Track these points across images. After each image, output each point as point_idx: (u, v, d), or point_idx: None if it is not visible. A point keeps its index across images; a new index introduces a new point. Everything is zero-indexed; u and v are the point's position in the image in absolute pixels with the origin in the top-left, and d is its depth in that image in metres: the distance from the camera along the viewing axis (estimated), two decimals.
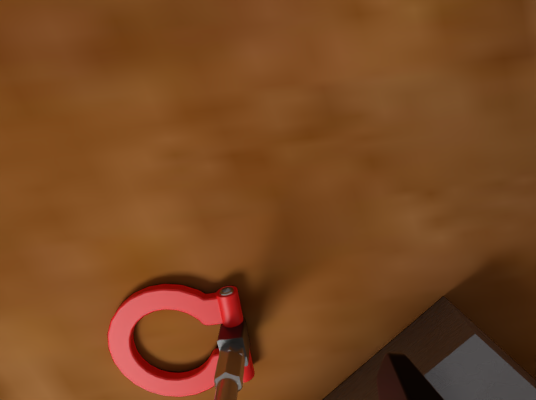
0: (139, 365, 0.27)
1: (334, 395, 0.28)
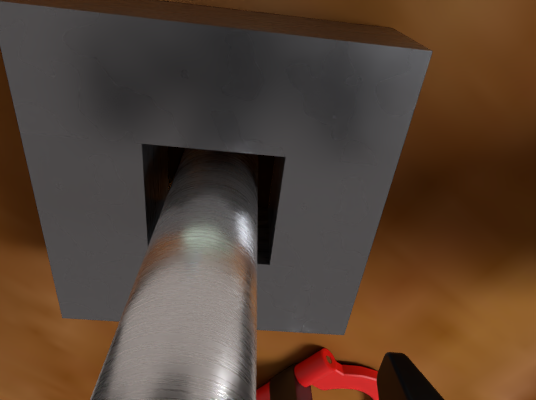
0: None
1: None
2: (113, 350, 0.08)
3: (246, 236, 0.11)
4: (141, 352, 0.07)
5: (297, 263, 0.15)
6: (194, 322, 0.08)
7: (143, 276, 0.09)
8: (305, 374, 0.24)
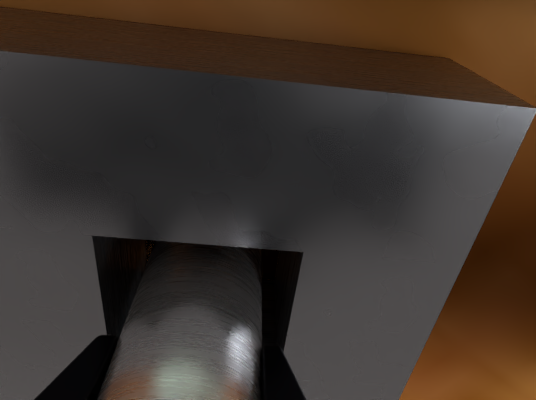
0: None
1: None
2: None
3: None
4: None
5: (315, 376, 0.11)
6: None
7: None
8: None
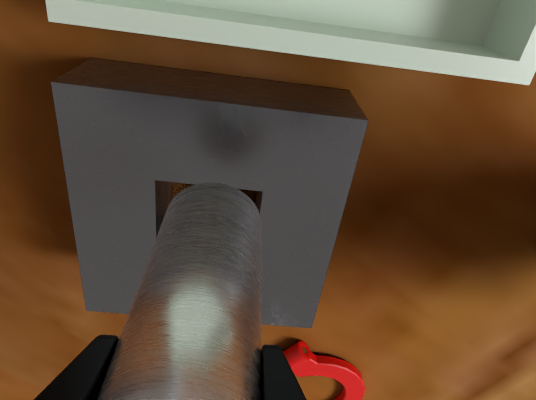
0: None
1: None
2: None
3: None
4: None
5: (273, 270, 0.20)
6: None
7: None
8: None
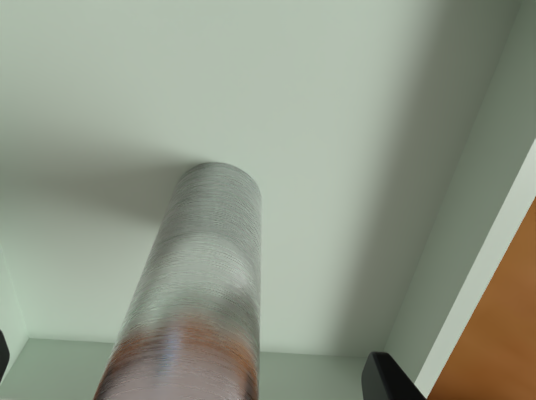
0: None
1: None
2: None
3: (245, 337, 0.08)
4: None
5: None
6: None
7: None
8: None
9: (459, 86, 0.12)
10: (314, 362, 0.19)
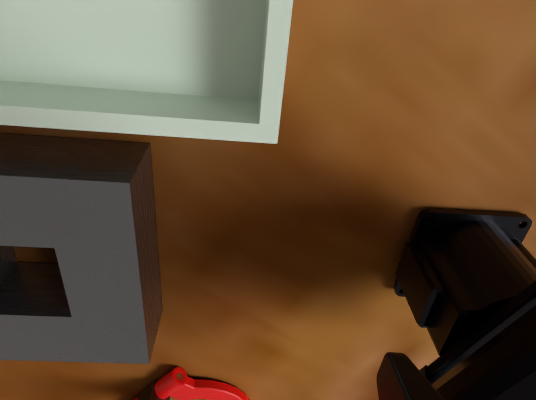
0: None
1: None
2: None
3: None
4: None
5: (92, 315, 0.21)
6: None
7: None
8: (160, 389, 0.29)
9: None
10: (185, 97, 0.18)
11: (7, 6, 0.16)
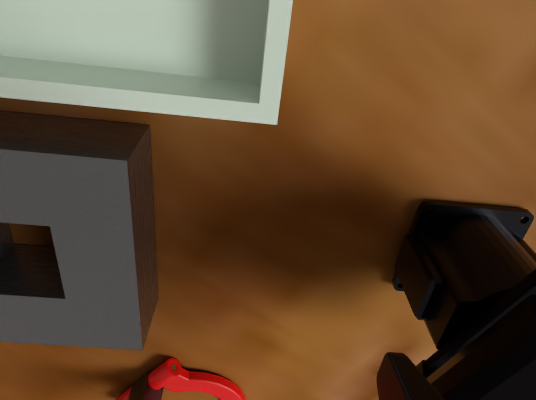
0: None
1: None
2: None
3: None
4: None
5: (86, 298, 0.21)
6: None
7: None
8: (154, 379, 0.29)
9: None
10: (185, 77, 0.18)
11: None
